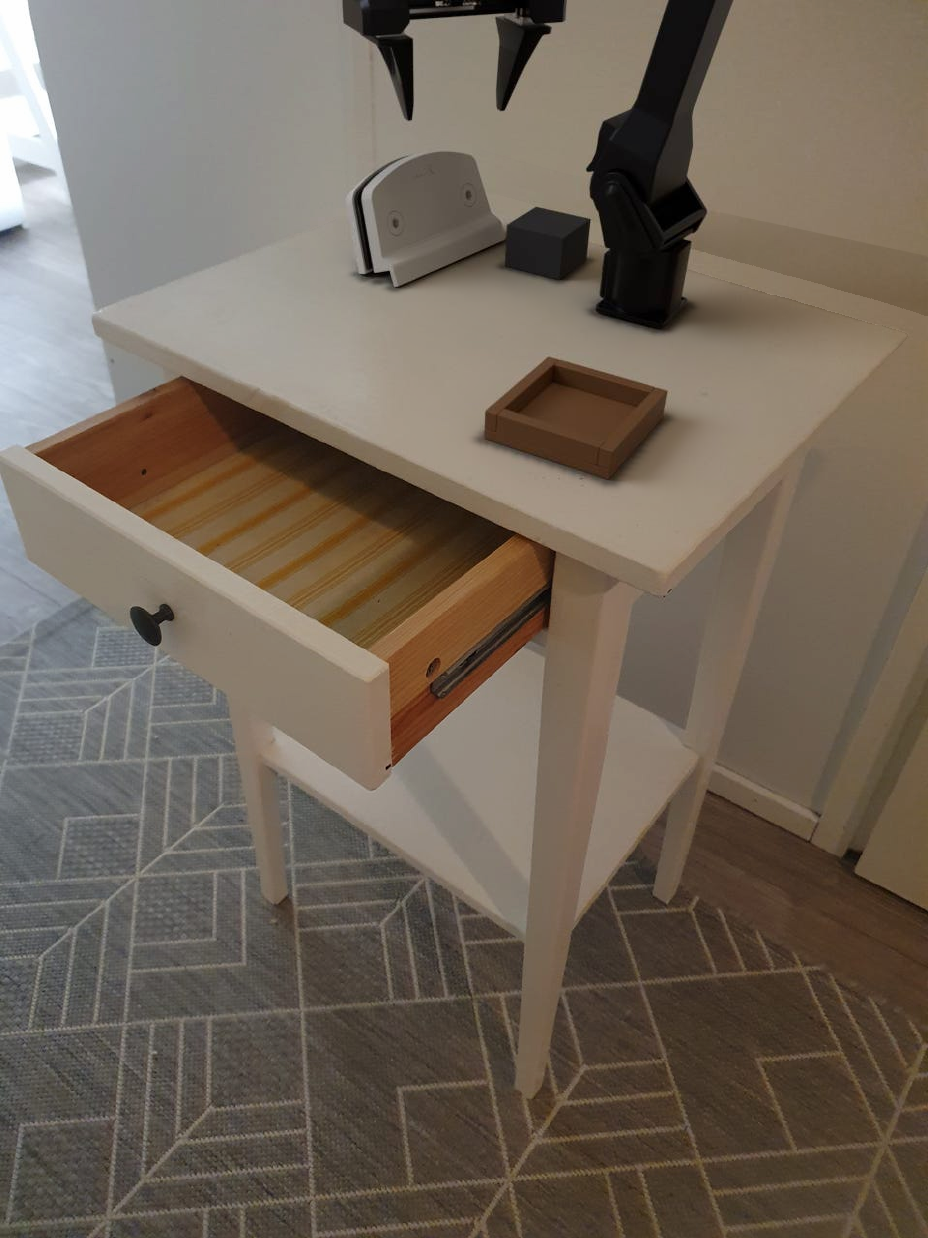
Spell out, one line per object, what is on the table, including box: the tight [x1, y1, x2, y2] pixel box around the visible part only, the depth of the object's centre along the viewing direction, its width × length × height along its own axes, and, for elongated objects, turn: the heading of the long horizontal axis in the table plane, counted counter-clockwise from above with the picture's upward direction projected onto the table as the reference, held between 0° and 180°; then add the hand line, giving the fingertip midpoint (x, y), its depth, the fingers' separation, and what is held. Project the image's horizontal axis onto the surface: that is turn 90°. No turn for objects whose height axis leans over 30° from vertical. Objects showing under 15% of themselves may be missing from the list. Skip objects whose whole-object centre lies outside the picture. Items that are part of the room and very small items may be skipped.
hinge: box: [345, 150, 506, 288], centre depth 94 cm, size 17×5×10 cm, turn 140°
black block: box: [504, 206, 591, 281], centre depth 94 cm, size 6×6×4 cm
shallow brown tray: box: [483, 356, 669, 480], centre depth 71 cm, size 10×10×2 cm
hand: (455, 114), depth 88 cm, fingers open, 9 cm apart
